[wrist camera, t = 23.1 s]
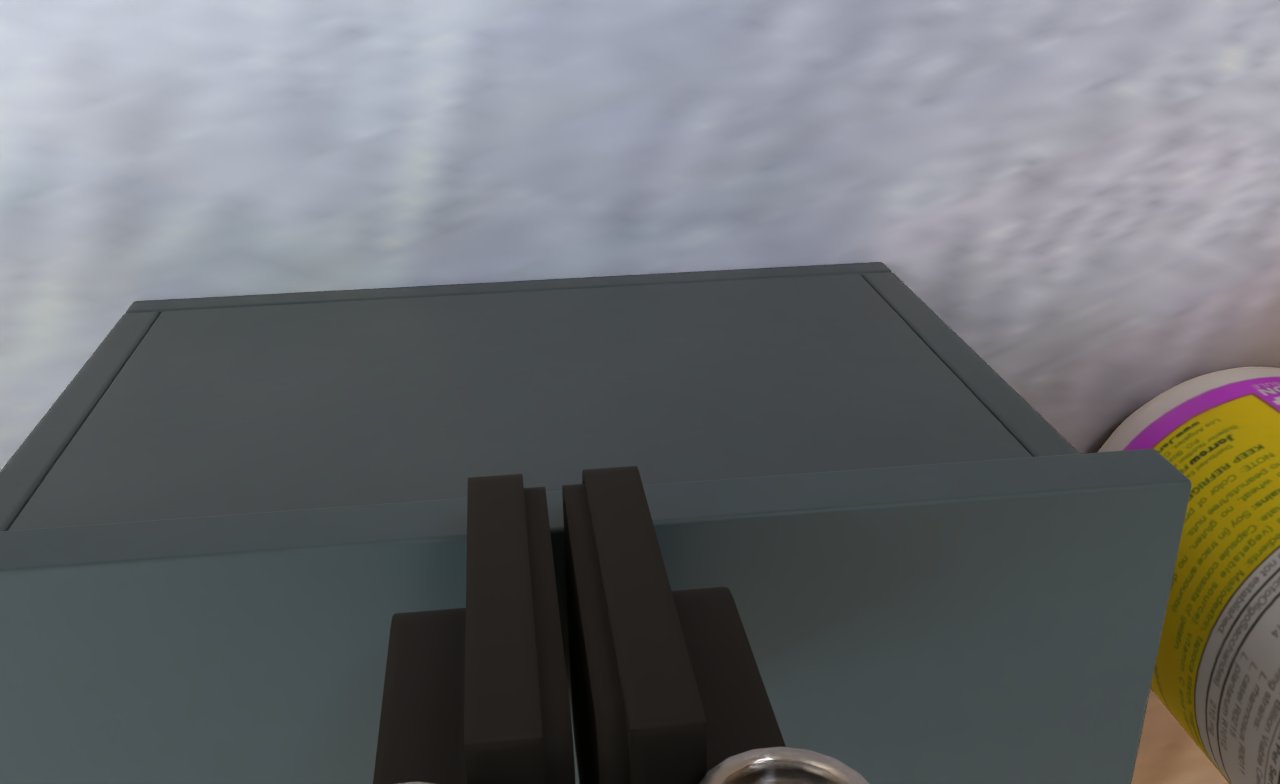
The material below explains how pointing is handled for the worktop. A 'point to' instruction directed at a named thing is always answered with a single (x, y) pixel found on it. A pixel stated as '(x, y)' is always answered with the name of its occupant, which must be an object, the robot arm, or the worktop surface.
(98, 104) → the worktop surface
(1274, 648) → the supplement bottle
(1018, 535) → the lid
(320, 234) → the worktop surface
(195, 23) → the worktop surface
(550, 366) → the dark grey open box
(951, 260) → the worktop surface
